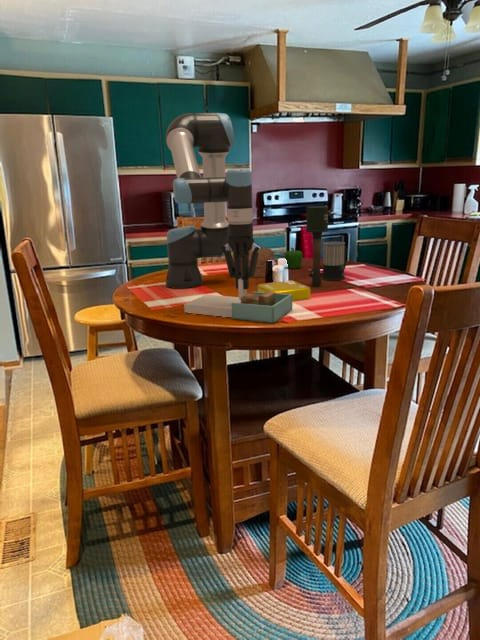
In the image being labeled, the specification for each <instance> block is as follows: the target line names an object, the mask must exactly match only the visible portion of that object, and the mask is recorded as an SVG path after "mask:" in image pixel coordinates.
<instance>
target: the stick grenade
mask: <svg viewBox="0 0 480 640" xmlns="http://www.w3.org/2000/svg"><path fill="white" fill-rule="evenodd" d="M305 232H306V233H311V235H312V251H313V253H312V254H313V257H312V258H313V260H312V261H313V264H312V265H313V266H312V269H313V275H311V276H312V277H311V286H312V287H313V288H314V287H316V288H317V287H319V288H320V287H322V286H321V285H322V276H321V273H322V272H321V269H320V266H321V249H322V239H323V238H322V235H323V233H327V232H330V229H329V206H326V205H318V206H317V205H316V206H307V207H306V229H305Z"/></svg>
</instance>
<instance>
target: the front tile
mask: <svg viewBox="0 0 480 640" xmlns="http://www.w3.org/2000/svg"><path fill="white" fill-rule="evenodd" d="M258 305H265V306H273V305H275V292H265V293H263V294H261V295H259V302H258Z"/></svg>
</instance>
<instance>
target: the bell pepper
mask: <svg viewBox="0 0 480 640" xmlns="http://www.w3.org/2000/svg"><path fill="white" fill-rule="evenodd" d="M284 252H285V253H284V260H285V259H286V260H287V264H288V267H287V268H288V269H291V270H295V269H299V268H300V267H301V266H302V262H303V252H302V251H301V250H295V247H290V250H287V251H284Z"/></svg>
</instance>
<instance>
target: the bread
mask: <svg viewBox="0 0 480 640" xmlns="http://www.w3.org/2000/svg"><path fill="white" fill-rule="evenodd" d="M261 247H262V246H261ZM252 253H253V251H252V248H251V250H250V251H249V266H250V261H251V256H252ZM274 256H275V252H274V251H273V250H272V249H271V248H268V247H262V249H261V251H260V252H259V255H258V260H257V265H256V269H255V274H254V276H253V277H252V278H266V277H265V265H266V261H268V260H274V261H275V257H274ZM232 257H233V261H234V256H232ZM241 269H242V257H241Z"/></svg>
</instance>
